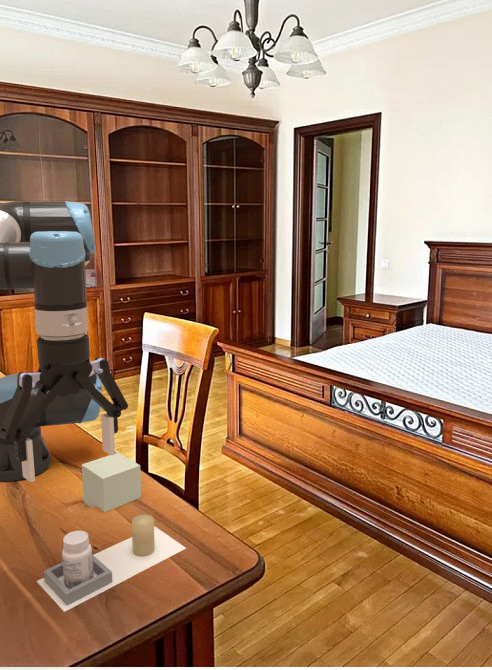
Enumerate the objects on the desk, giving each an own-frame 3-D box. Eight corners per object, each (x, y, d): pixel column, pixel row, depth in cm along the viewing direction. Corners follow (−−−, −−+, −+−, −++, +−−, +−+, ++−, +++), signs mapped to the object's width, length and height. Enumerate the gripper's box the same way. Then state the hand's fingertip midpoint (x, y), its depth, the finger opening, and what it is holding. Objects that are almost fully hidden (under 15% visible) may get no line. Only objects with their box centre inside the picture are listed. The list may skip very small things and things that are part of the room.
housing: (83, 502, 119) (81, 464, 117) (119, 488, 125) (118, 452, 123) (104, 518, 113) (102, 478, 111) (141, 503, 119) (140, 465, 117)
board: (37, 588, 91) (33, 549, 90) (155, 533, 108) (154, 498, 106) (64, 620, 84) (61, 577, 83) (186, 555, 101) (185, 518, 99)
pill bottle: (82, 569, 94) (80, 525, 92) (99, 580, 91) (97, 535, 90) (58, 583, 91) (55, 538, 89) (74, 595, 88) (71, 549, 86)
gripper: (-14, 353, 71) (0, 501, 75) (146, 327, 88) (149, 449, 92) (-34, 343, 76) (-20, 482, 81) (121, 321, 93) (125, 436, 98)
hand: (71, 465), depth 87 cm, fingers open, 13 cm apart
